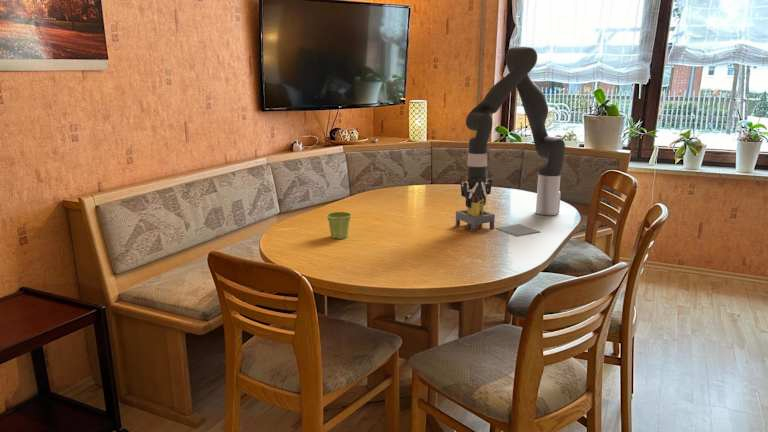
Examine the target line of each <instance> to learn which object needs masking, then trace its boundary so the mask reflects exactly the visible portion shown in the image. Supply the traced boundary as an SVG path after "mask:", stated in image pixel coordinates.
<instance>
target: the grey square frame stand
mask: <svg viewBox="0 0 768 432" xmlns="http://www.w3.org/2000/svg"><path fill="white" fill-rule="evenodd" d="M495 215H496V214H495V213H492V212H489V211H486V210H483V215H481V216H471V215H469V214H467V209H464V210H463V209H461V210H456V211H455V226H456V227H460V226H461V222H463V223H466V224H467V223H469V224H471V228H470V232H471V233H476V230H477V229H476V225H477V224H482V225H483V224H489V229H490V230H494V229H495V220H496V219H495Z"/></svg>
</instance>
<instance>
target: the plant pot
mask: <svg viewBox="0 0 768 432" xmlns="http://www.w3.org/2000/svg"><path fill="white" fill-rule="evenodd" d="M325 217H326V219H327V221H328V225H329V231H330V236H331V238H332V239H337V240H341V239H342V240H343V239H346V238H347V237H348V235H349V227H350V220H351V218H352V213H350V212H348V211H334V212H333V211H332V212H329V213H327V214H326V215H325Z"/></svg>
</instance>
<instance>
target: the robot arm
mask: <svg viewBox="0 0 768 432" xmlns="http://www.w3.org/2000/svg"><path fill="white" fill-rule="evenodd" d="M537 62H538V53H537V50H536V49H535V48H533V47H531V46H514V47H510V48H509V49H508V50H507V51H506V54H505V64H506V67H507V69H508V72H509V73H507V74H506V75H505V76H504V77H502V78H501V79H500V80H499V81H498V82H496V83H495V84H494V85H493V86H492V87H491V88H490V89H489V91H488V92H487V94H486V95H485V97H484V98H483V99H482V101H480V103H478V104H476V106H475V107H474V108H472V110H471V111H470V112H468V115H467V116H466V119H465V125H466V127H467V129H469V130H470V131H474V132H475V131H476V134H475V136H474V137H471V138H470V139H469V141H468V154H467V155H468V156H467V165H466V166H467V170H466V171H467V172H466V176H467V180H466V181H461V182H460V194H461V197H463V198H465V206H466V208H471V197H472V194H473V193H474V192H475V190H476V187H477V186H478V182H476V179H481V182H480V185H481V191H482V194H483V197H484V204H483V207H484V206H485V205H486V203H487V196H488V195H491V193H492V191H491V190H492V183H493V179H491V178H486V177H487V175H488V143H489V142H488V141H489V139H490V137H491V136H490V135H491V133H492V129H493V119H492V116H491V115H493V114H496V113H497V112H498V111H499V110H500V108H501V107H502V105H503V104H504V103H505V101H506V99H507V98H508V97H509V95H510V94H511V93H512V91H513V90H515V88H516V90H517V93H518V95H519V99H520V100H521V104H522V106H523V111H524V113H525V116H526V118H527V122H528V124H529V127H530V131H531V135H532V138H533V143H534V147H535V151H536V153H537V155H538V156H539V157H540V158H544V159H548V160H547V163H546V165H542V166H540V167H539V168H538V176H537V188H536V189H537V190H536V202H535V203H536V205H535V213H536V214H538V215H542V216H555V215H558V214H560V208H561V207H560V206H561V191H560V186H561V185H560V184H561V174H562V173H561V172H562V170H563V166H564V160H565V152H566V143H565V141H564V140H563V139H562V138H560V137H554V136H550V135H548V132H547V129H546V121H547V118H548V114H549V107H548V106H549V105H548V103H547V100H546V97H545V94H544V93H543V91H542V90H541V88H540V87H538V85H537V84H536V83H535V81H533V80H532V79H531V76H530V75H529V73H530V72H532V70H533V69H534V67H535V66H536V64H537Z"/></svg>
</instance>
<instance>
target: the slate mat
mask: <svg viewBox="0 0 768 432" xmlns="http://www.w3.org/2000/svg"><path fill="white" fill-rule="evenodd" d="M495 229H496V230H498V231H501V232H504V233H505V234H506V233H507V234H509V235H512V236H514V237H522V236H526V235H527V236H528V235H533V234H538V233H541V230H538V229H536V228H533V227H529V226H527V225H523V224H521V223H519V224H518V223H517V224H511V225H506V226H505V225H504V226H499V227H495Z"/></svg>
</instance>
